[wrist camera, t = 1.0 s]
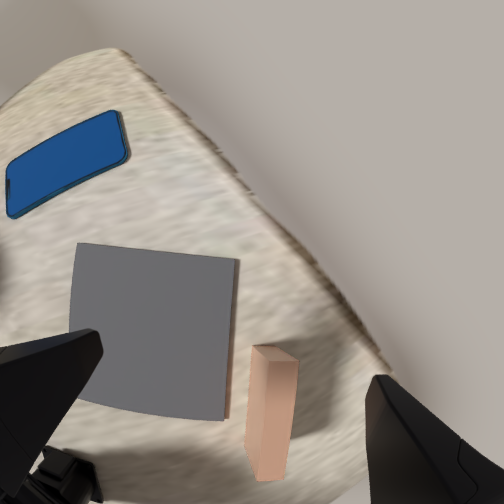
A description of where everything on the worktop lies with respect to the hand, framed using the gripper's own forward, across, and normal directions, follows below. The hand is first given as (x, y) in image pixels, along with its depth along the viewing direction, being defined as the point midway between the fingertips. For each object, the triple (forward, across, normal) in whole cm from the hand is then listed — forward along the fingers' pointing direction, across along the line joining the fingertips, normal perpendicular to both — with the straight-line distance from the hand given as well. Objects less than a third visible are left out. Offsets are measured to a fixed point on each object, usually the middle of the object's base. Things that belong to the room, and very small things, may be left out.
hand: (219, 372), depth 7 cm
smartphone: (+13, +22, -8) cm, 27 cm away
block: (+11, 0, +12) cm, 17 cm away
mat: (+10, +10, +7) cm, 15 cm away
